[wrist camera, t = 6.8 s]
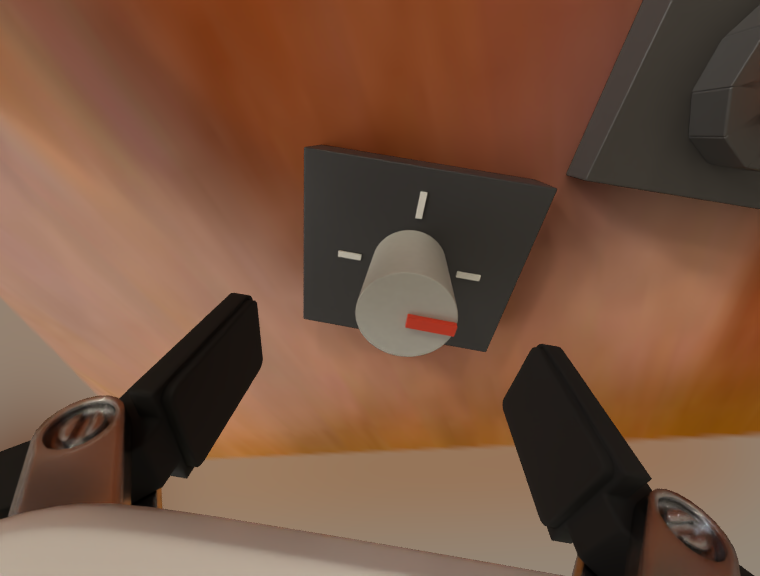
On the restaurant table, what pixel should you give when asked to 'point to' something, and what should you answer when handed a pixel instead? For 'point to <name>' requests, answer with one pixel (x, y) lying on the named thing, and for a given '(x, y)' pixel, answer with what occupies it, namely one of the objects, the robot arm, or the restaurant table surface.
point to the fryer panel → (419, 213)
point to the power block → (681, 105)
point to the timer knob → (407, 296)
